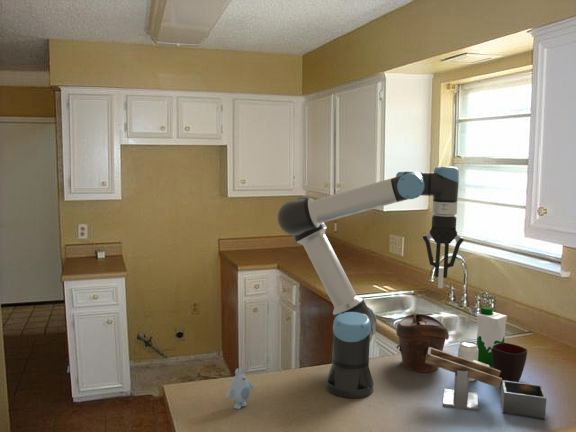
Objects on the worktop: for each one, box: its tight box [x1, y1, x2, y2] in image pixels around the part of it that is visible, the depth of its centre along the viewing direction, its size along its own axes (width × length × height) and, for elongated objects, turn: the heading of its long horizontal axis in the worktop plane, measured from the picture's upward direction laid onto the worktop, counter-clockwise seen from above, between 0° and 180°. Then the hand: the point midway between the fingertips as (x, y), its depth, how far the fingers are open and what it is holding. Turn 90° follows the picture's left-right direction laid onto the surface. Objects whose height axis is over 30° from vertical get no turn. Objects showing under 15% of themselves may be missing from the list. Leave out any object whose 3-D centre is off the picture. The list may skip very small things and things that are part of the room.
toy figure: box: [225, 366, 254, 410], centre depth 159 cm, size 11×6×12 cm, turn 136°
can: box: [457, 340, 478, 383], centre depth 184 cm, size 6×6×12 cm
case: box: [396, 313, 450, 373], centre depth 194 cm, size 18×20×18 cm
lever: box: [425, 347, 502, 389], centre depth 169 cm, size 22×14×3 cm, turn 73°
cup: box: [492, 342, 528, 386], centre depth 182 cm, size 10×14×12 cm
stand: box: [442, 369, 479, 412], centre depth 167 cm, size 10×11×11 cm
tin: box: [500, 380, 547, 421], centre depth 162 cm, size 11×9×6 cm
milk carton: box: [476, 305, 508, 368], centre depth 198 cm, size 9×9×20 cm
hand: (440, 287), depth 176 cm, fingers closed
